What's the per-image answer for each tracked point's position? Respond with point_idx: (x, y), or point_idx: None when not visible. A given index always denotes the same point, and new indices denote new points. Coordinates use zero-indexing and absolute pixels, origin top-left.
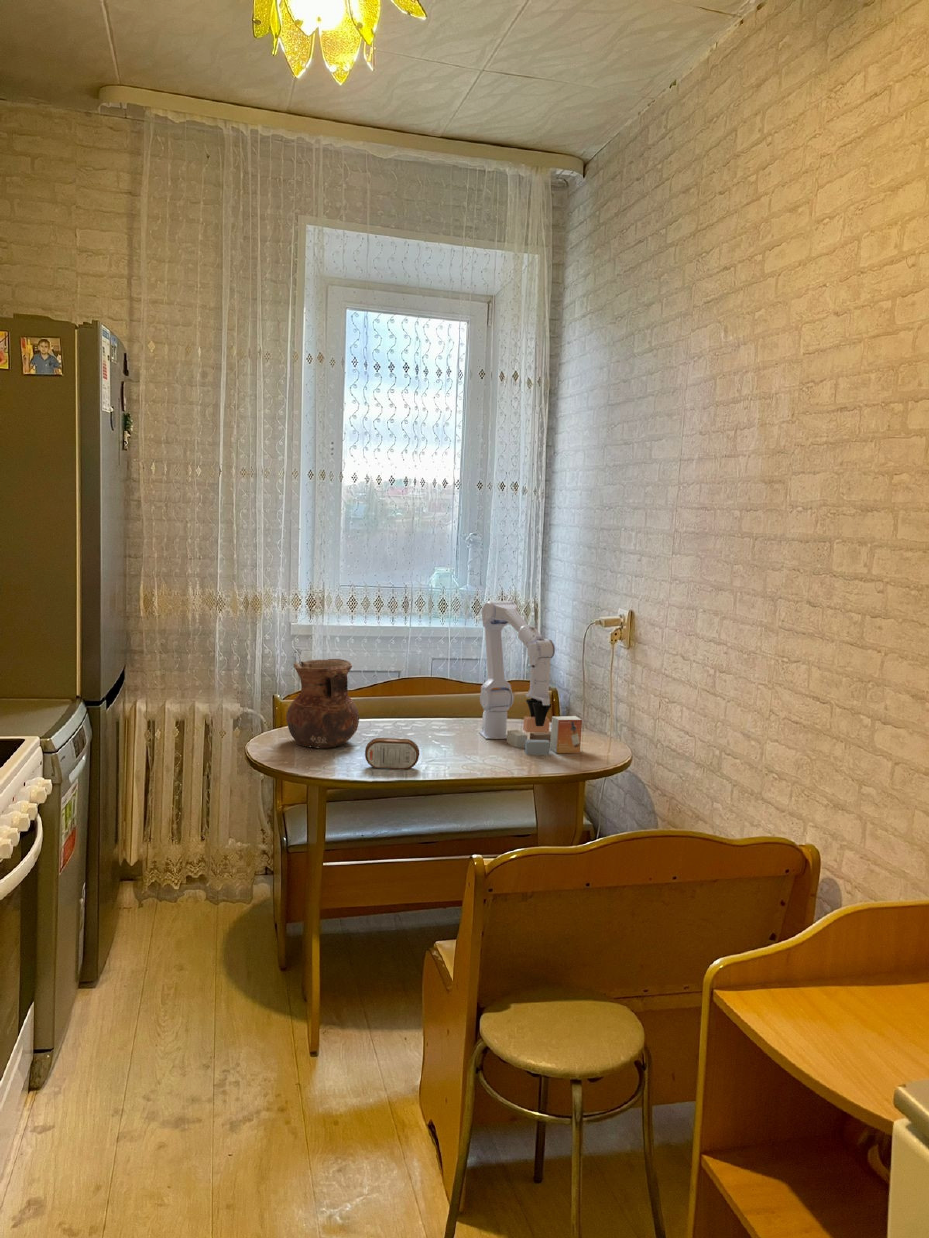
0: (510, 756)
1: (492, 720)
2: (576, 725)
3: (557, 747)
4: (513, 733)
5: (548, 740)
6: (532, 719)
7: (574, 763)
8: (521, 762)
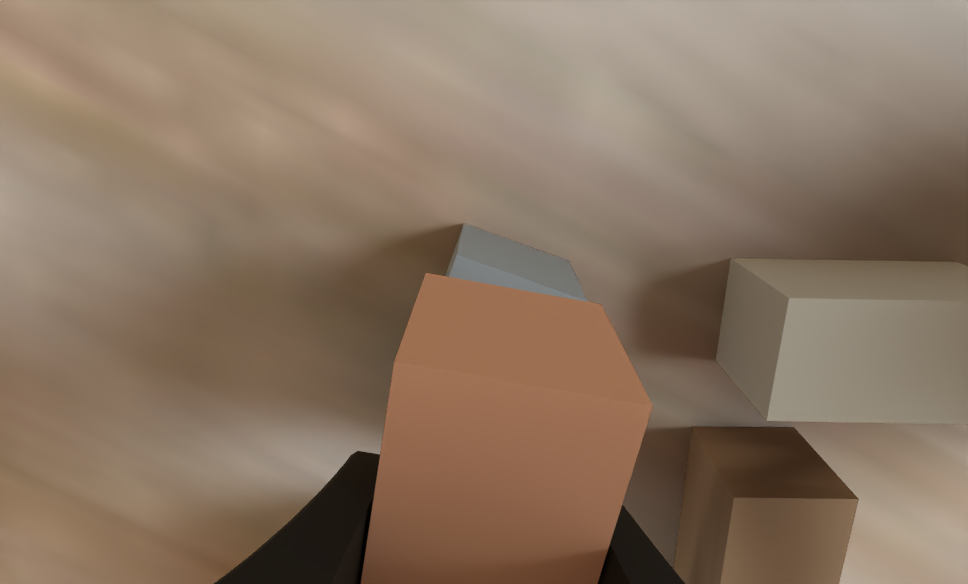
0: (441, 24)
1: None
2: None
3: None
4: (906, 305)
5: (691, 578)
6: (380, 457)
7: (114, 474)
8: (192, 25)
